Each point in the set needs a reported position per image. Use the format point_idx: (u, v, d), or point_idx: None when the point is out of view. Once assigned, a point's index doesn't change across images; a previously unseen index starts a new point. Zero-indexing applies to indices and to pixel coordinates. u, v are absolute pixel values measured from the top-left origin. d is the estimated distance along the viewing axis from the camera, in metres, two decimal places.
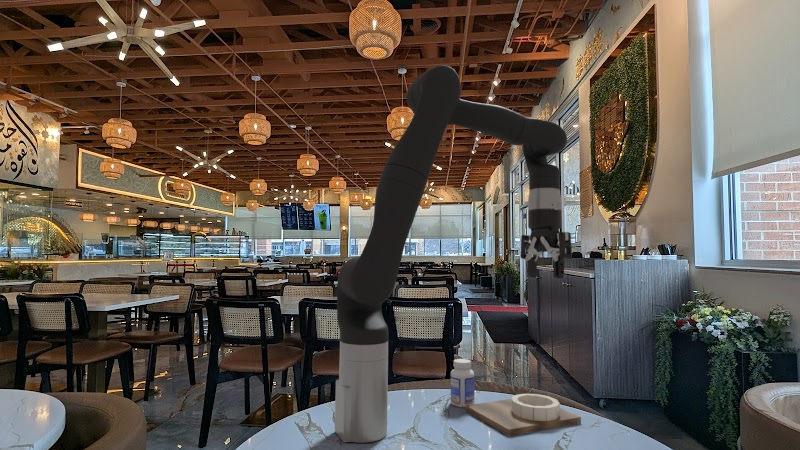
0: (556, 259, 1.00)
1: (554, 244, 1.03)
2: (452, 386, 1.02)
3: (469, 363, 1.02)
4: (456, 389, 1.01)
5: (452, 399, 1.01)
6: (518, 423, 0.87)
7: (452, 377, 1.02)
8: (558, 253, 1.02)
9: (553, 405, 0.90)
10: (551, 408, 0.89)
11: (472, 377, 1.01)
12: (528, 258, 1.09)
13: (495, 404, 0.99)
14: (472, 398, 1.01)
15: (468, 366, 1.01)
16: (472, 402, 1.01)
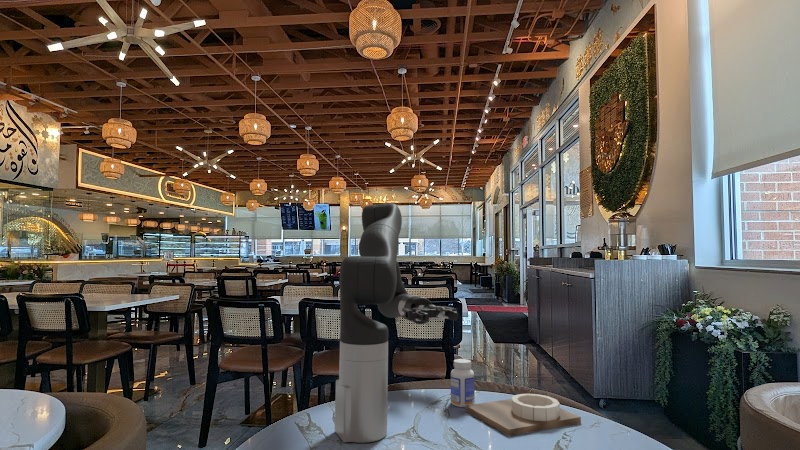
0: (450, 309, 1.19)
1: None
2: (452, 386, 1.02)
3: (469, 363, 1.02)
4: (456, 389, 1.01)
5: (452, 399, 1.01)
6: (518, 423, 0.87)
7: (452, 377, 1.02)
8: (443, 315, 1.20)
9: (553, 405, 0.90)
10: (551, 408, 0.89)
11: (472, 377, 1.01)
12: (419, 310, 1.16)
13: (495, 404, 0.99)
14: (472, 398, 1.01)
15: (468, 366, 1.01)
16: (472, 402, 1.01)
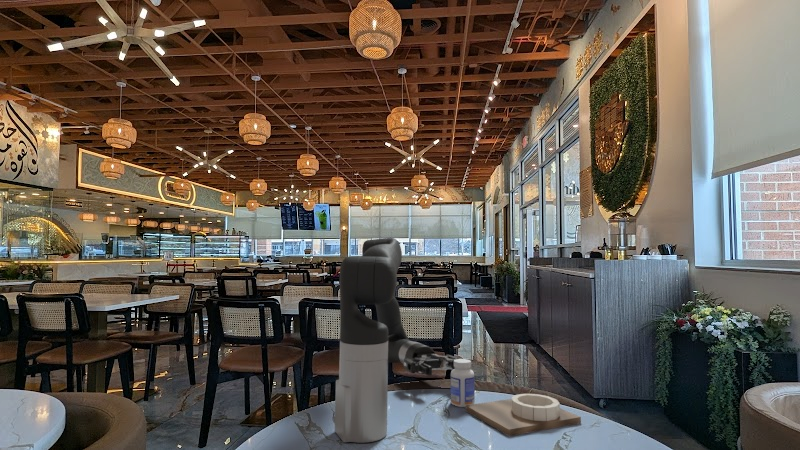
0: (454, 359, 1.15)
1: None
2: (452, 386, 1.02)
3: (469, 363, 1.02)
4: (456, 389, 1.00)
5: (452, 399, 1.01)
6: (518, 423, 0.87)
7: (452, 377, 1.02)
8: (447, 366, 1.16)
9: (553, 405, 0.90)
10: (551, 408, 0.89)
11: (472, 377, 1.01)
12: (422, 362, 1.12)
13: (495, 404, 0.99)
14: (472, 398, 1.01)
15: (468, 366, 1.01)
16: (472, 402, 1.01)
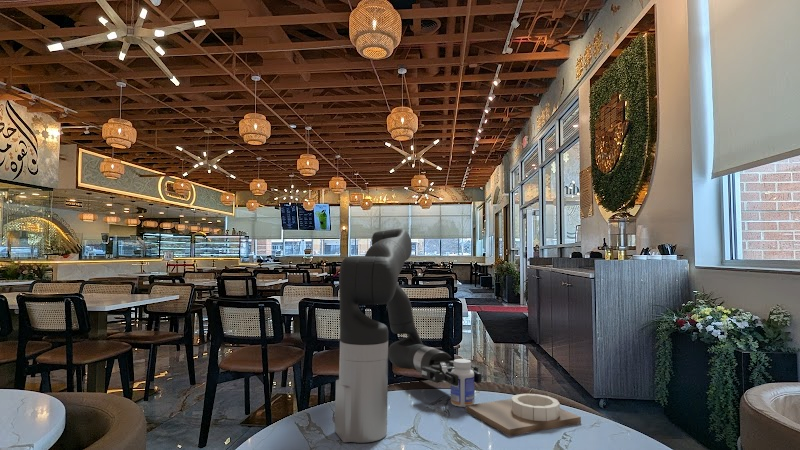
0: (472, 368, 1.06)
1: None
2: (452, 386, 1.02)
3: (469, 363, 1.02)
4: (456, 389, 1.01)
5: (452, 399, 1.01)
6: (518, 423, 0.87)
7: None
8: None
9: (553, 405, 0.90)
10: (551, 408, 0.89)
11: (472, 377, 1.01)
12: (447, 370, 1.03)
13: (495, 404, 0.99)
14: (472, 398, 1.01)
15: (468, 366, 1.01)
16: (472, 402, 1.01)
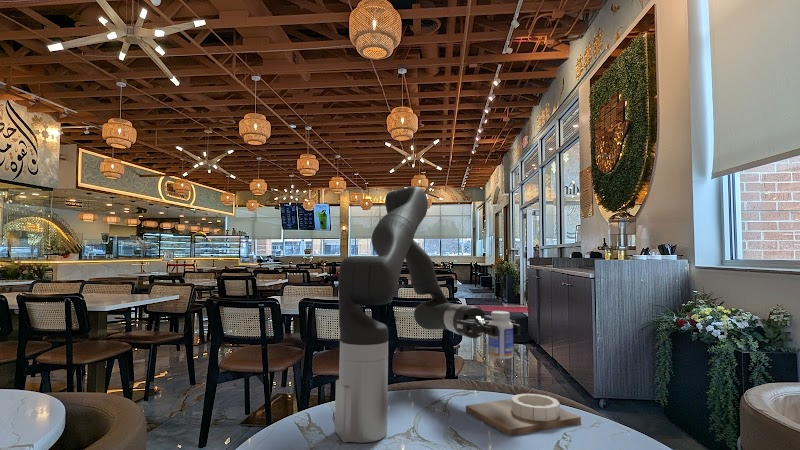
0: (509, 321, 1.02)
1: None
2: (490, 338, 0.98)
3: (508, 314, 0.98)
4: (495, 340, 0.97)
5: (490, 351, 0.98)
6: (518, 423, 0.87)
7: None
8: None
9: (553, 405, 0.90)
10: (551, 408, 0.89)
11: (511, 328, 0.97)
12: (484, 323, 0.99)
13: (495, 404, 0.99)
14: (511, 350, 0.97)
15: (507, 317, 0.98)
16: (511, 354, 0.97)
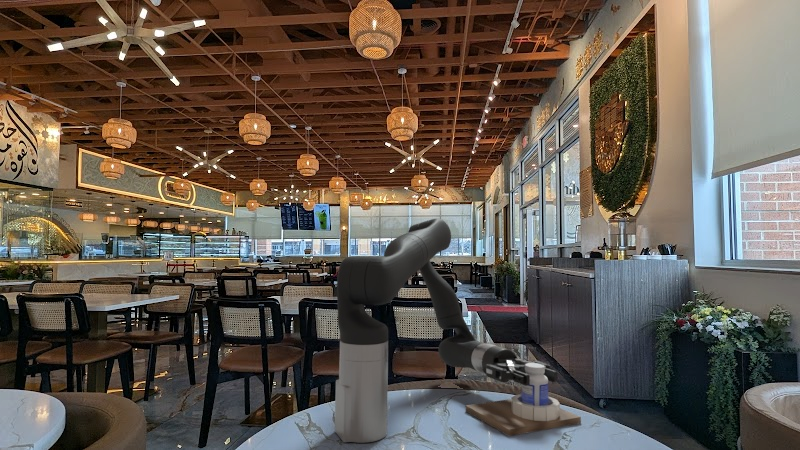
0: None
1: None
2: (524, 393, 0.93)
3: (543, 368, 0.93)
4: (529, 396, 0.92)
5: None
6: (518, 423, 0.87)
7: None
8: None
9: (553, 405, 0.90)
10: (551, 408, 0.89)
11: (547, 383, 0.92)
12: (514, 369, 0.94)
13: (495, 404, 0.99)
14: None
15: (542, 371, 0.92)
16: None
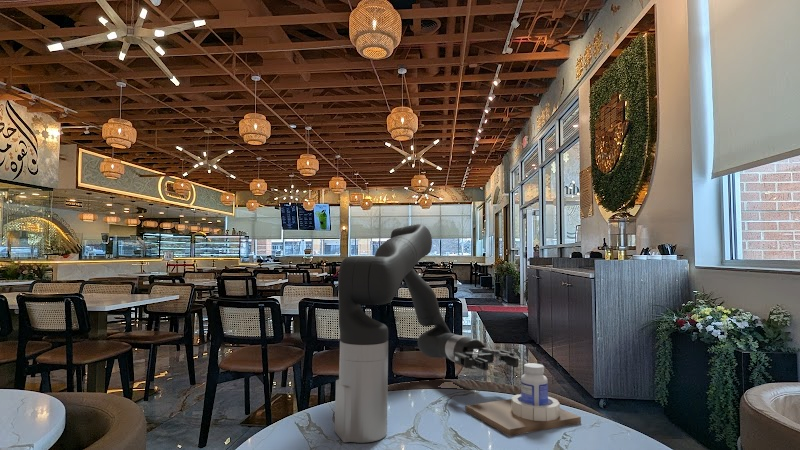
0: (508, 353, 1.10)
1: None
2: (524, 393, 0.93)
3: (542, 368, 0.93)
4: (529, 396, 0.92)
5: None
6: (518, 423, 0.87)
7: (524, 383, 0.93)
8: (500, 360, 1.11)
9: (553, 405, 0.90)
10: (551, 408, 0.89)
11: (546, 383, 0.92)
12: (476, 356, 1.06)
13: (495, 404, 0.99)
14: None
15: (542, 371, 0.92)
16: None
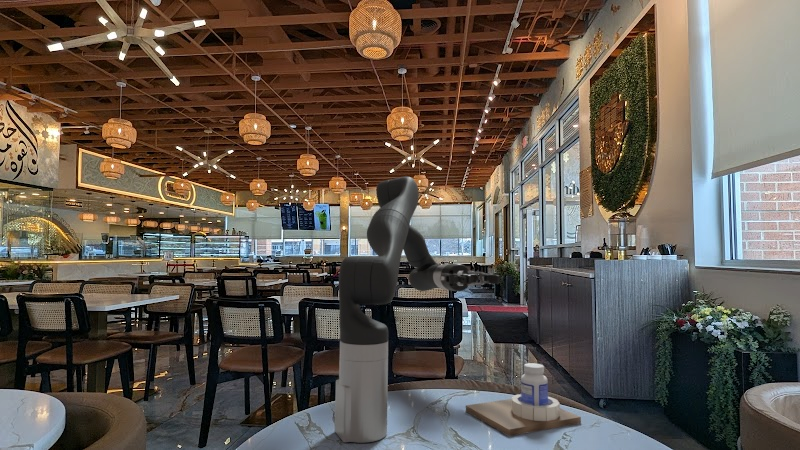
0: (491, 274, 1.18)
1: None
2: (524, 393, 0.93)
3: (542, 368, 0.93)
4: (529, 396, 0.92)
5: None
6: (518, 423, 0.87)
7: (524, 383, 0.93)
8: (483, 281, 1.18)
9: (553, 405, 0.90)
10: (551, 408, 0.89)
11: (546, 383, 0.92)
12: (460, 274, 1.14)
13: (495, 404, 0.99)
14: None
15: (541, 371, 0.92)
16: None
